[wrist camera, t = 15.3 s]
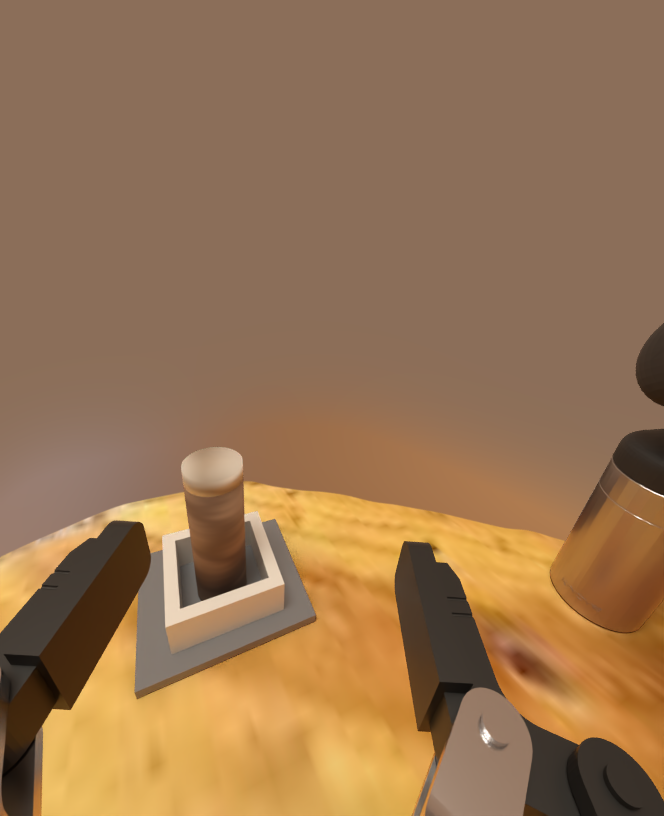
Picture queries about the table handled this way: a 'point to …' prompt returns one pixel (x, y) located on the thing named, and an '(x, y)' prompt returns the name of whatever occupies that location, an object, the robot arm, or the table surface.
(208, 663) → the post well
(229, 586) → the walnut post
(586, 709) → the table surface
